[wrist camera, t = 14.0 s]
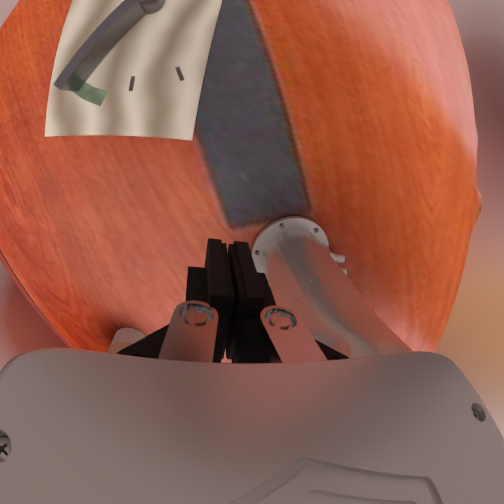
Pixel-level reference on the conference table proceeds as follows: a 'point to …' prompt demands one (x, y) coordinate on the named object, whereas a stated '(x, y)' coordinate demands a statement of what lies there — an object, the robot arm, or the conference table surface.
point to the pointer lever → (103, 41)
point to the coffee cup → (124, 339)
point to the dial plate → (135, 72)
